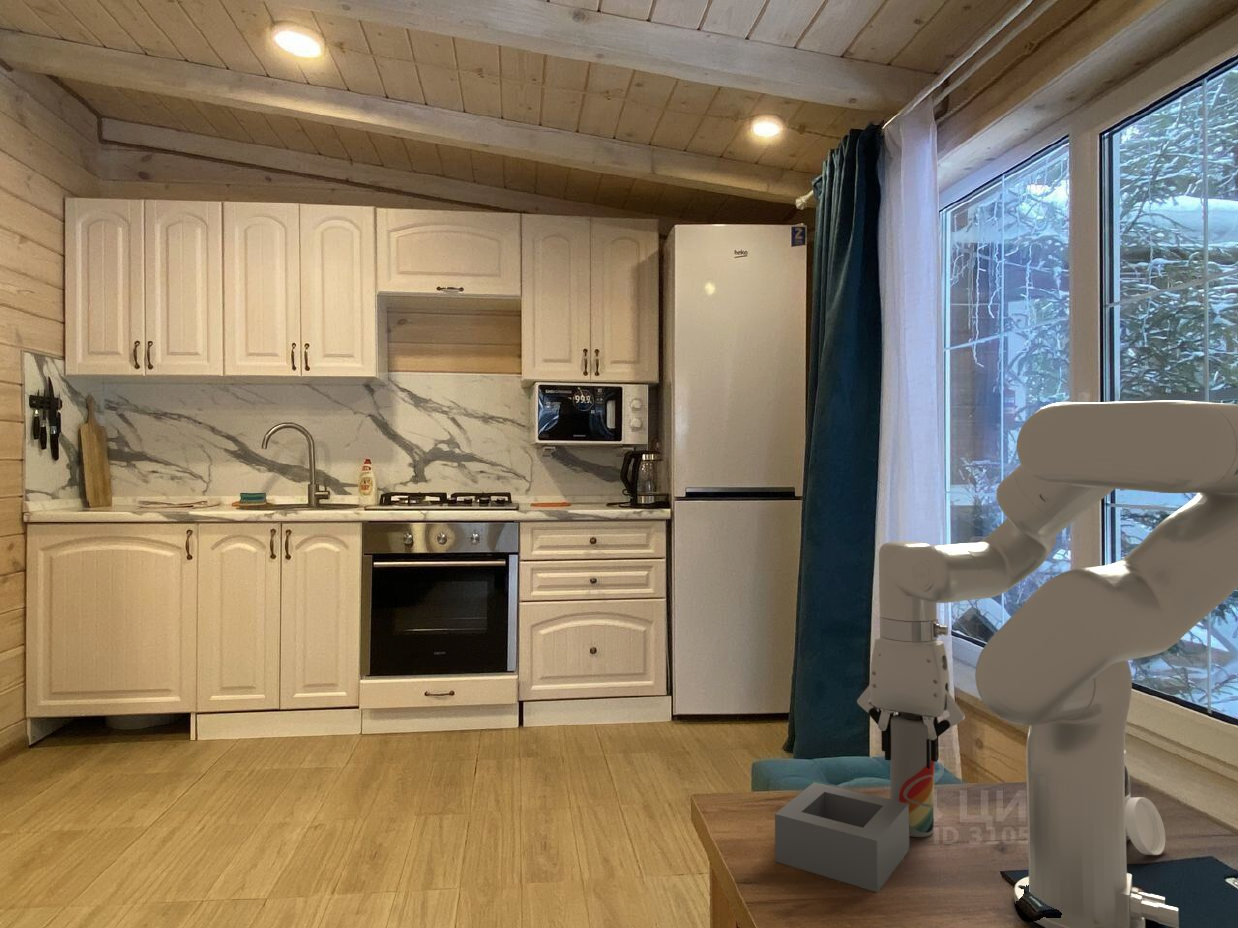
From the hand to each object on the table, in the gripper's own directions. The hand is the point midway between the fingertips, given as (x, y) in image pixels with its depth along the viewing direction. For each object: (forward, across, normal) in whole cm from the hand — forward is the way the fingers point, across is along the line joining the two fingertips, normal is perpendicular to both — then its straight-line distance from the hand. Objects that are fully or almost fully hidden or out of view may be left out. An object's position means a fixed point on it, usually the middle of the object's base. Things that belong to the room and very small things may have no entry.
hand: (909, 760), depth 108 cm
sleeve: (+9, +5, +13) cm, 17 cm away
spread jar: (+10, -23, -13) cm, 28 cm away
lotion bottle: (+10, 0, 0) cm, 10 cm away
